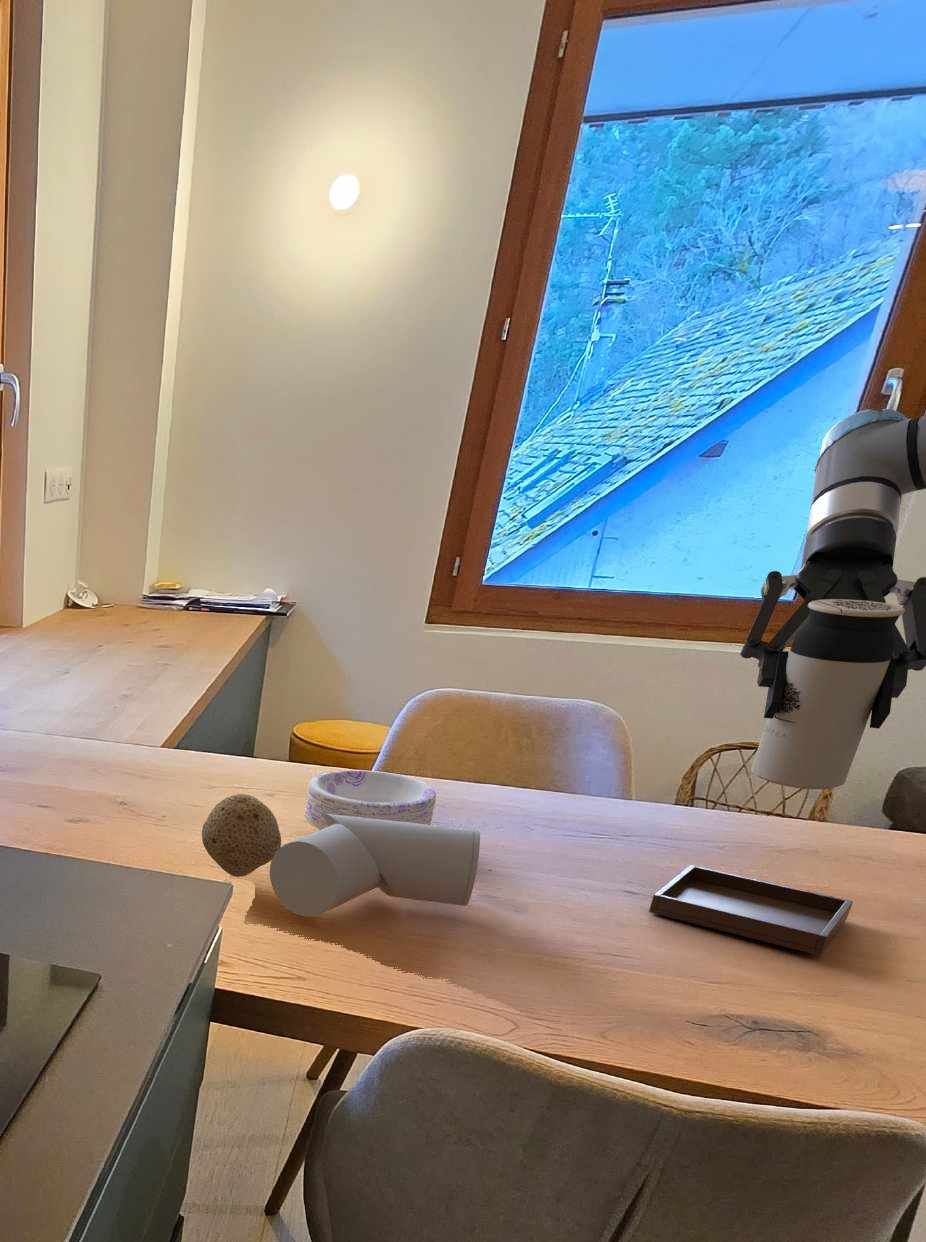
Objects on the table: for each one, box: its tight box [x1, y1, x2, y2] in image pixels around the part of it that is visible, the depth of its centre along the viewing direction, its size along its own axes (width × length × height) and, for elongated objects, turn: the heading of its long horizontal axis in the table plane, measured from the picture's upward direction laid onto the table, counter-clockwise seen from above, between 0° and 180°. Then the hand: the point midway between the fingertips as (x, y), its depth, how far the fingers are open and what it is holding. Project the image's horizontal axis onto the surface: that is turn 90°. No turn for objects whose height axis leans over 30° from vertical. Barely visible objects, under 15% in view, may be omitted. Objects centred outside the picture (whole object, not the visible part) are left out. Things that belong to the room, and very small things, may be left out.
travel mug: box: [750, 599, 905, 790], centre depth 107 cm, size 8×8×18 cm
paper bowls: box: [304, 769, 437, 831], centre depth 134 cm, size 15×15×8 cm
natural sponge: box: [201, 793, 282, 878], centre depth 123 cm, size 9×9×10 cm
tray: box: [648, 864, 854, 956], centre depth 114 cm, size 15×14×2 cm
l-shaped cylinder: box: [269, 814, 481, 918], centre depth 115 cm, size 18×11×20 cm
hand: (824, 715), depth 105 cm, fingers closed on travel mug, 8 cm apart
